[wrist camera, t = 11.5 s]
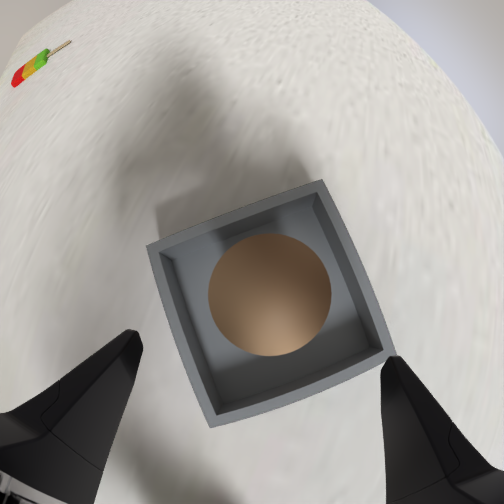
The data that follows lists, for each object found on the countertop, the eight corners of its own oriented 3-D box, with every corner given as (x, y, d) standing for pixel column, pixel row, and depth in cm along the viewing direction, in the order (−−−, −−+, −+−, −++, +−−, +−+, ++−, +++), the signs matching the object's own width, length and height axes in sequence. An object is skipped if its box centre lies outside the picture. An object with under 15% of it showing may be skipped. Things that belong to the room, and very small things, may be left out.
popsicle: (18, 77, 35) (14, 72, 34) (73, 38, 36) (69, 32, 34) (13, 90, 34) (9, 85, 32) (71, 49, 35) (66, 43, 33)
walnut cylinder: (275, 352, 20) (279, 380, 11) (222, 311, 21) (184, 302, 12) (316, 299, 21) (354, 281, 11) (264, 259, 22) (259, 210, 12)
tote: (218, 413, 20) (209, 428, 17) (162, 256, 23) (146, 245, 20) (379, 350, 20) (396, 355, 17) (315, 198, 23) (322, 179, 20)
